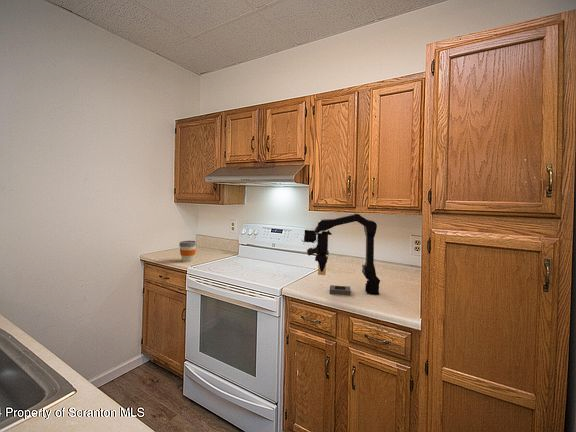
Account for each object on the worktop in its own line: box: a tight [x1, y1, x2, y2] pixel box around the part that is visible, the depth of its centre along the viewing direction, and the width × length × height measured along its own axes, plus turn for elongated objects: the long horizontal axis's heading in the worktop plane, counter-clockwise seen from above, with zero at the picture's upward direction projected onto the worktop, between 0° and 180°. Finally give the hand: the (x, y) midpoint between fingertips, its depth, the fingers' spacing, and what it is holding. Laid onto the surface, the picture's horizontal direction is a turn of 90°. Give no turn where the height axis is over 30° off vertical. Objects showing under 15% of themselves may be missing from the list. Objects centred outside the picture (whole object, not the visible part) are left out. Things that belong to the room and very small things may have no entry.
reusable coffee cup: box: [179, 240, 197, 263], centre depth 227 cm, size 13×13×15 cm
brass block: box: [317, 261, 327, 276], centre depth 159 cm, size 4×4×7 cm
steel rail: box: [329, 284, 351, 296], centre depth 158 cm, size 11×8×2 cm
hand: (321, 270), depth 159 cm, fingers closed on brass block, 4 cm apart
